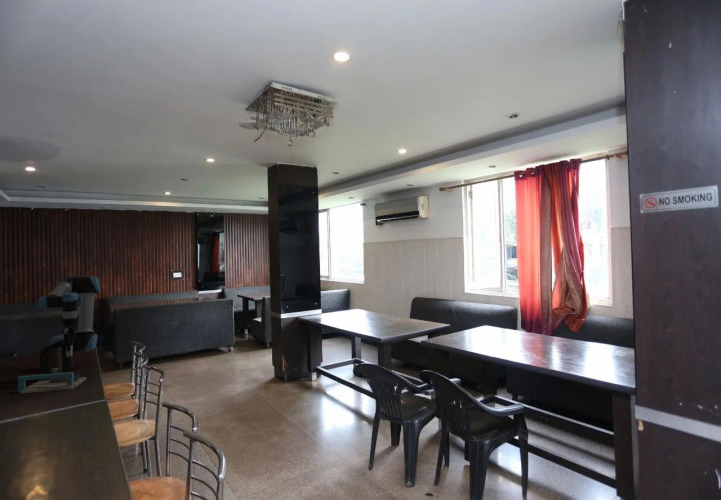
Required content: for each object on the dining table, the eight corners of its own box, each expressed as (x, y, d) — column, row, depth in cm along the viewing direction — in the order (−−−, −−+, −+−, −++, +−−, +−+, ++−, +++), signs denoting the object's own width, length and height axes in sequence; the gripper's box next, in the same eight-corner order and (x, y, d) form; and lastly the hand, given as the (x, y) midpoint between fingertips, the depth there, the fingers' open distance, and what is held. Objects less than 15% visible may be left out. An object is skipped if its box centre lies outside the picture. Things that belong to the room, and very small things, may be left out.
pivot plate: (39, 383, 240) (39, 367, 240) (86, 379, 246) (86, 364, 247) (20, 393, 221) (20, 376, 221) (71, 389, 227) (72, 373, 227)
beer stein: (67, 375, 256) (65, 344, 257) (53, 380, 245) (51, 348, 246) (45, 376, 257) (44, 346, 258) (30, 381, 247) (29, 349, 247)
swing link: (48, 382, 234) (48, 377, 234) (52, 380, 238) (52, 375, 239) (76, 380, 238) (76, 375, 238) (79, 378, 242) (80, 373, 242)
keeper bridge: (20, 391, 225) (20, 376, 225) (73, 386, 232) (73, 372, 232) (17, 392, 223) (17, 377, 223) (71, 387, 230) (71, 373, 230)
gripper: (67, 317, 251) (67, 354, 250) (57, 319, 239) (57, 358, 238) (81, 316, 253) (80, 353, 252) (72, 319, 241) (71, 357, 240)
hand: (69, 356), depth 245 cm, fingers closed
